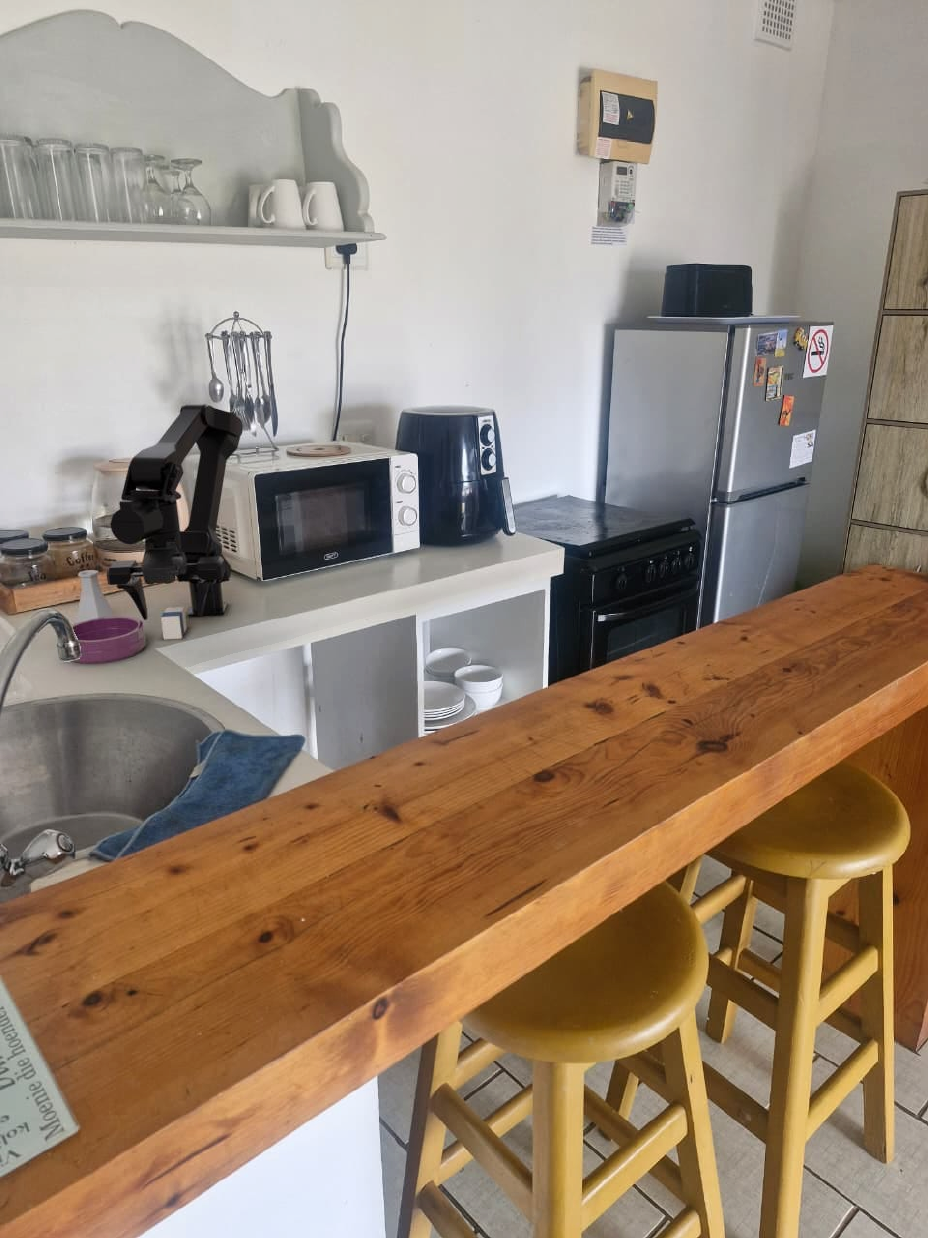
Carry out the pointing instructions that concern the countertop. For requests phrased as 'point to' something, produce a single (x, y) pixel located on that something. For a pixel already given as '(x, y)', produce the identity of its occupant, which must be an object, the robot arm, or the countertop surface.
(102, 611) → the flask
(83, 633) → the bowl
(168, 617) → the eraser
